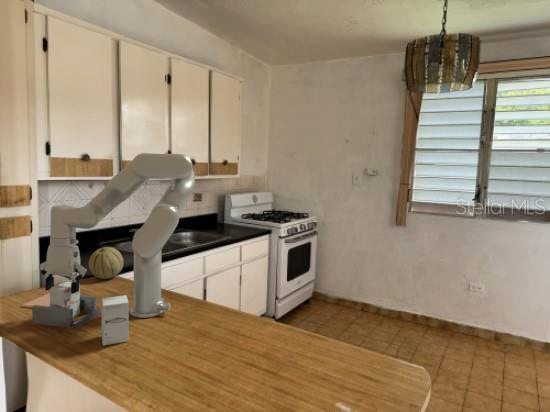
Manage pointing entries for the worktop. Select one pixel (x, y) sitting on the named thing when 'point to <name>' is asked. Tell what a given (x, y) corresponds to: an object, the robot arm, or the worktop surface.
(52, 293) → the ink box
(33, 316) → the grey frame rack
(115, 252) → the cantaloupe
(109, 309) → the supplement box
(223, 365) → the worktop surface
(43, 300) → the plate
